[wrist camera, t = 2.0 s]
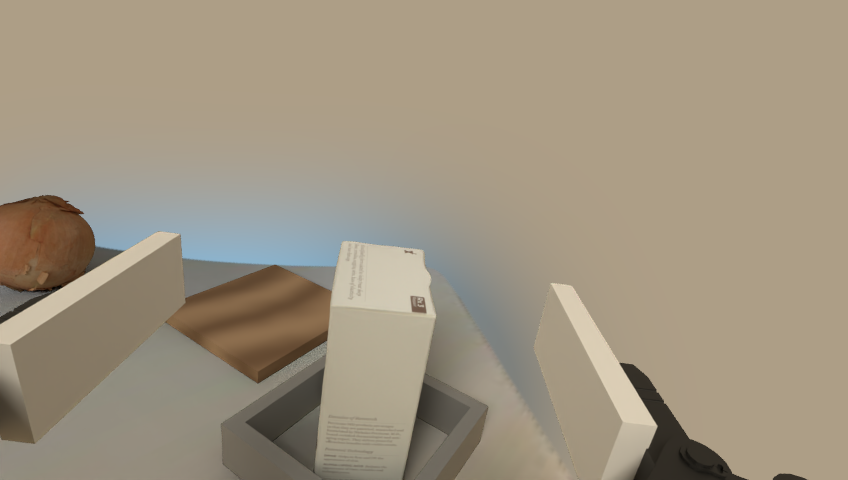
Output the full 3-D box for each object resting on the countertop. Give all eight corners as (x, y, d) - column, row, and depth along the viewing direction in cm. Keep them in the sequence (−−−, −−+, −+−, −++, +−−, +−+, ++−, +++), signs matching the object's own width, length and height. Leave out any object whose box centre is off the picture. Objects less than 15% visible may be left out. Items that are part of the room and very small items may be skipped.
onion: (77, 290, 51) (104, 206, 52) (80, 309, 44) (111, 211, 44) (-39, 274, 45) (-6, 179, 46) (-58, 293, 38) (-19, 179, 38)
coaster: (160, 318, 43) (159, 307, 43) (275, 273, 55) (275, 264, 54) (257, 383, 37) (257, 371, 37) (364, 316, 48) (365, 307, 48)
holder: (222, 463, 30) (221, 423, 28) (350, 368, 40) (353, 336, 39) (378, 591, 24) (384, 549, 23) (479, 441, 34) (488, 406, 33)
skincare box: (324, 408, 36) (336, 236, 30) (400, 410, 36) (425, 244, 31) (310, 506, 28) (322, 299, 22) (405, 507, 29) (440, 308, 23)
